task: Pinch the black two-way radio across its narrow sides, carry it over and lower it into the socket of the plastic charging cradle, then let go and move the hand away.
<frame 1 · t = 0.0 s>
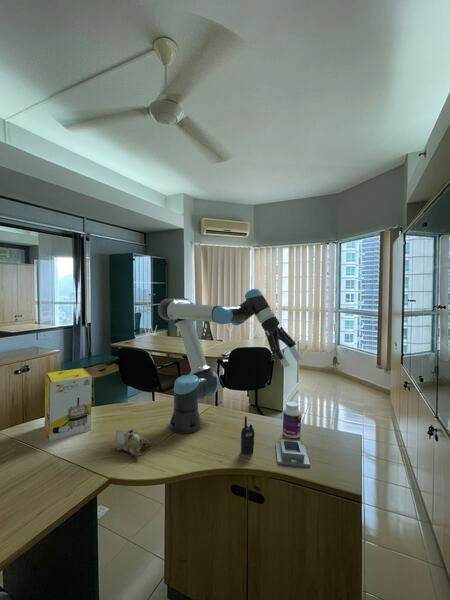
hand: (293, 363, 120), 36 cm above the table, fingers open, 13 cm apart
pill bottle: (291, 435, 132), on the table
two-way radio: (246, 451, 117), on the table
packaging box: (67, 428, 132), on the table
charging cradle: (291, 455, 115), on the table
ceramic sculpture: (131, 451, 115), on the table
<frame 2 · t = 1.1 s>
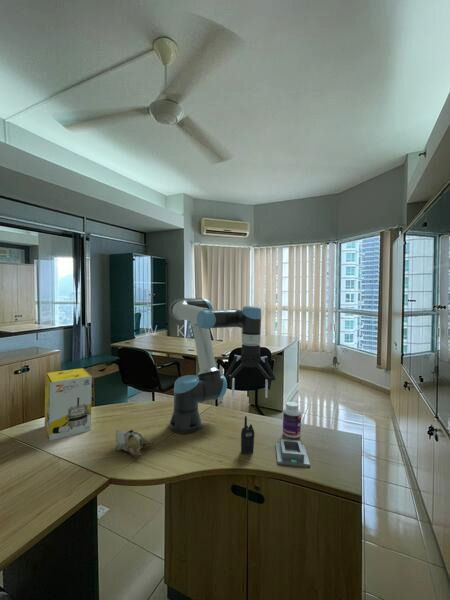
hand: (249, 395, 117), 23 cm above the table, fingers open, 13 cm apart
nothing on the table moved.
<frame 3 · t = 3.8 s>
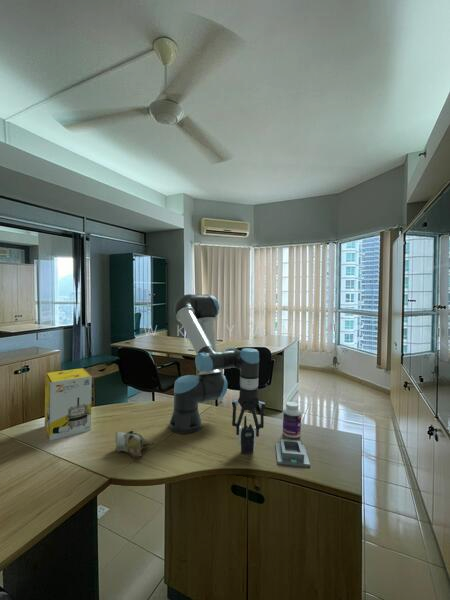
hand: (247, 443, 117), 3 cm above the table, fingers closed on two-way radio, 5 cm apart
two-way radio: (246, 451, 117), on the table, touching gripper
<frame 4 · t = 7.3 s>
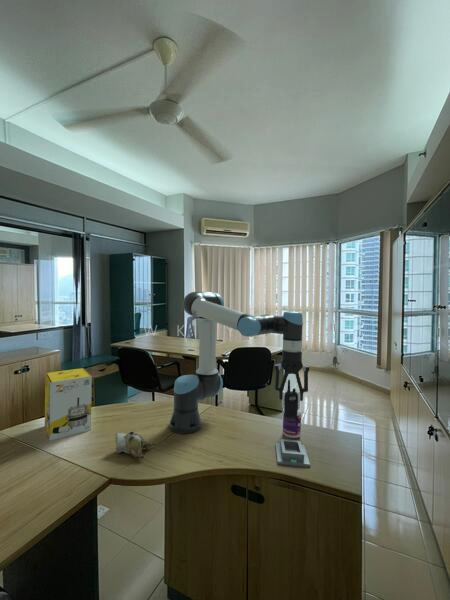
hand: (290, 407, 114), 19 cm above the table, fingers closed on two-way radio, 5 cm apart
two-way radio: (290, 416, 114), point 16 cm above the table, touching gripper
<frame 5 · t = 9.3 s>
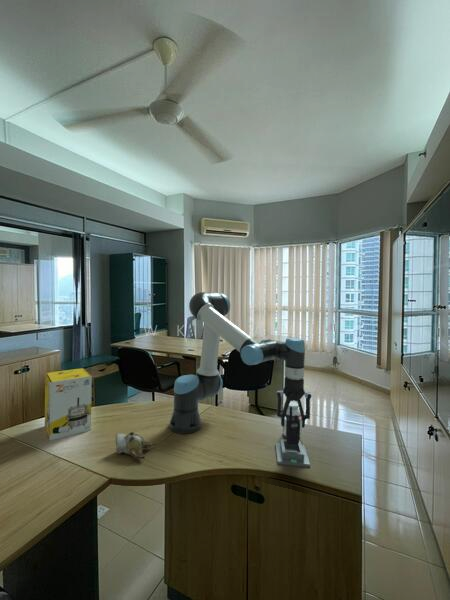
hand: (292, 434, 115), 9 cm above the table, fingers closed on two-way radio, 5 cm apart
two-way radio: (291, 442, 115), point 5 cm above the table, touching gripper
when the fingers open (5 cm above the table, at t = 10.7 s): two-way radio stays where it is, resting on charging cradle.
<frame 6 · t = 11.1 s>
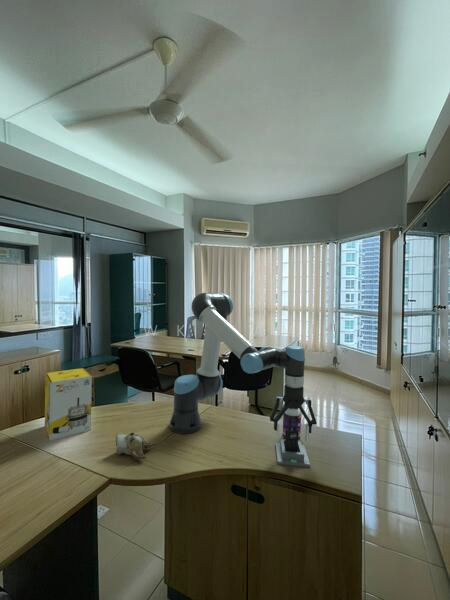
hand: (292, 439, 115), 6 cm above the table, fingers open, 11 cm apart
two-way radio: (290, 453, 115), point 1 cm above the table, touching charging cradle
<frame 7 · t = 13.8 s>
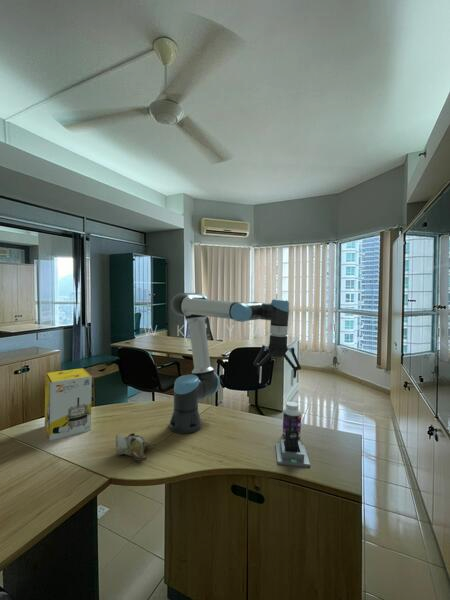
hand: (275, 383, 124), 26 cm above the table, fingers open, 13 cm apart
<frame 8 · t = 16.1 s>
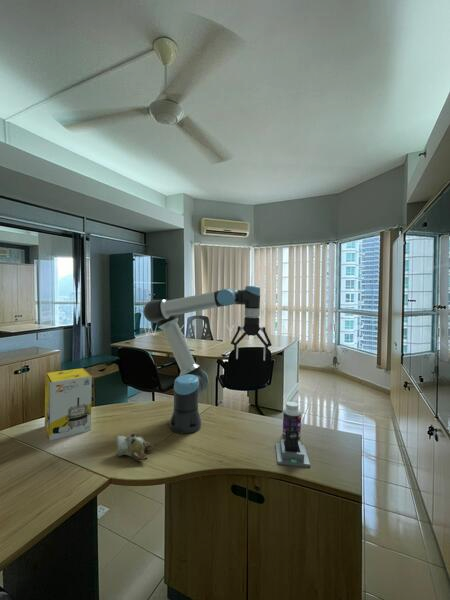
hand: (250, 359, 143), 32 cm above the table, fingers open, 13 cm apart
at the end: two-way radio 0.4 cm off-centre on the charging cradle, point 0.8 cm above the charging cradle's base; two-way radio tilted 0°; the gripper is holding nothing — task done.
